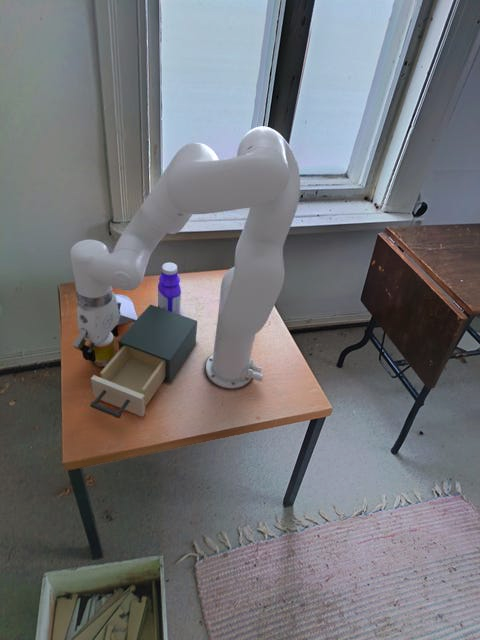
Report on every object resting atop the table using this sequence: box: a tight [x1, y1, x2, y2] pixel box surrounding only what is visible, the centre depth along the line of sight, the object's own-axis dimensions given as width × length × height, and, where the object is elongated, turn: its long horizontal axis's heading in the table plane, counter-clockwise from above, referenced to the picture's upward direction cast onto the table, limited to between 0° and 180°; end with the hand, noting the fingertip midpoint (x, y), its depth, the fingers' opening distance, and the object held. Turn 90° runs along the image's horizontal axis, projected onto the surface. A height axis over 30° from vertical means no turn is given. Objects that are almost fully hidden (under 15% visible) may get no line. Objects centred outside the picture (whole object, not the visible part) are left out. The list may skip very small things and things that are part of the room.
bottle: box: [157, 262, 182, 315], centre depth 114 cm, size 7×6×17 cm
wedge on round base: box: [115, 293, 139, 326], centre depth 114 cm, size 9×7×13 cm
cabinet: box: [117, 304, 198, 384], centre depth 106 cm, size 16×14×9 cm
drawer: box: [89, 345, 167, 419], centre depth 95 cm, size 19×13×7 cm, turn 160°
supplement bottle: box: [93, 332, 116, 367], centre depth 101 cm, size 6×6×10 cm
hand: (101, 346), depth 102 cm, fingers open, 9 cm apart
